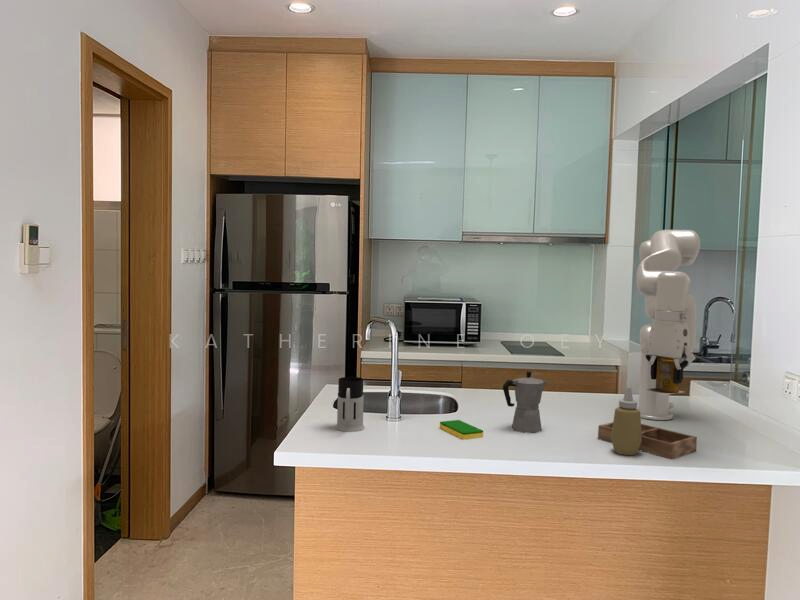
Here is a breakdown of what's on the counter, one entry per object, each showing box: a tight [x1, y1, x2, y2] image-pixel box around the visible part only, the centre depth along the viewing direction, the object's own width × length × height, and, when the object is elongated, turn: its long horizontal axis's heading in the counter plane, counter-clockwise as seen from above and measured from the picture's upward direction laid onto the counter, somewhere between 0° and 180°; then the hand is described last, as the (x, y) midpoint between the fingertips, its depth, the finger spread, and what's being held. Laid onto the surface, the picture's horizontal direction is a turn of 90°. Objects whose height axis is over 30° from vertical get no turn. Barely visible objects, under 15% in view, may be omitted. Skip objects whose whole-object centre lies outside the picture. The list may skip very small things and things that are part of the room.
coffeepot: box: [502, 371, 548, 434], centre depth 199 cm, size 15×9×18 cm, turn 110°
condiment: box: [645, 357, 685, 396], centre depth 181 cm, size 7×8×12 cm
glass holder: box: [335, 376, 365, 433], centre depth 193 cm, size 9×14×15 cm, turn 179°
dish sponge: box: [439, 419, 484, 441], centre depth 195 cm, size 7×14×2 cm, turn 26°
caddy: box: [597, 421, 698, 460], centre depth 186 cm, size 13×23×4 cm, turn 38°
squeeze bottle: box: [611, 387, 642, 456], centre depth 177 cm, size 8×8×18 cm
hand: (666, 380), depth 181 cm, fingers closed on condiment, 6 cm apart
